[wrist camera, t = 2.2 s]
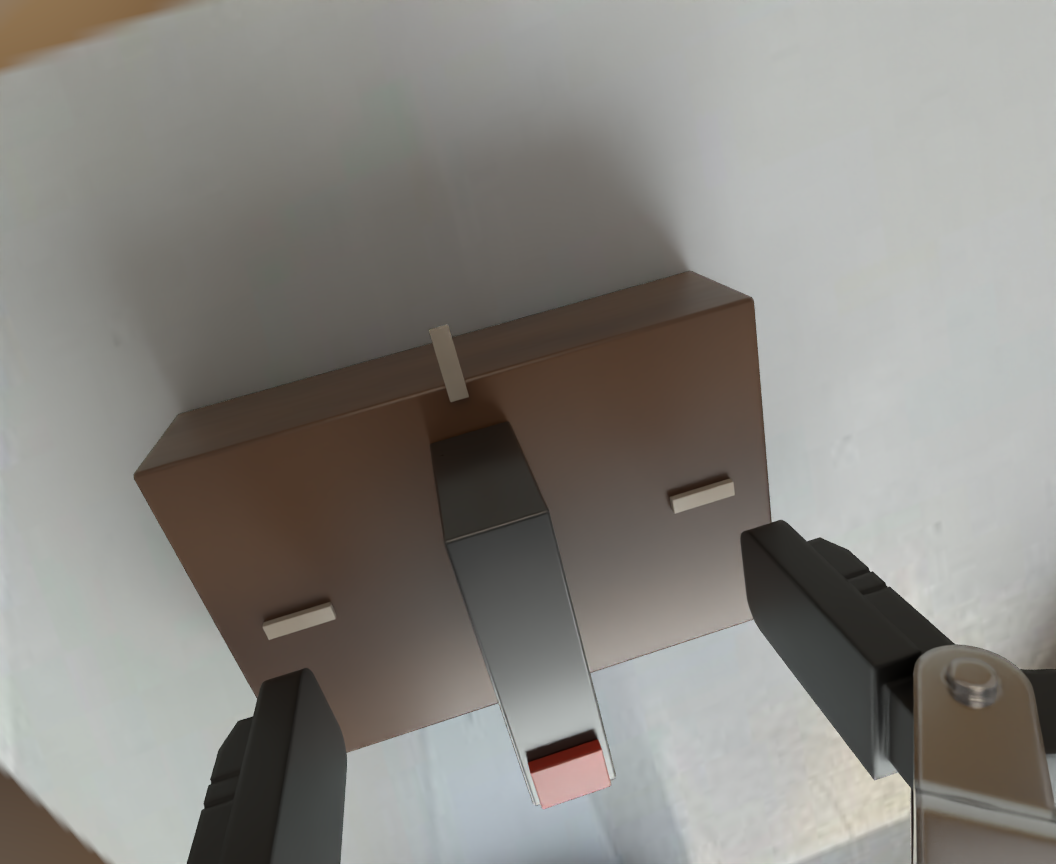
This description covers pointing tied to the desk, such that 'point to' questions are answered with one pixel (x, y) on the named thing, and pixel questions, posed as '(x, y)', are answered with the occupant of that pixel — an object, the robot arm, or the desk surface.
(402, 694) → the panel
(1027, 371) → the desk surface
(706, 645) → the desk surface
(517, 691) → the red-tipped grey bar
